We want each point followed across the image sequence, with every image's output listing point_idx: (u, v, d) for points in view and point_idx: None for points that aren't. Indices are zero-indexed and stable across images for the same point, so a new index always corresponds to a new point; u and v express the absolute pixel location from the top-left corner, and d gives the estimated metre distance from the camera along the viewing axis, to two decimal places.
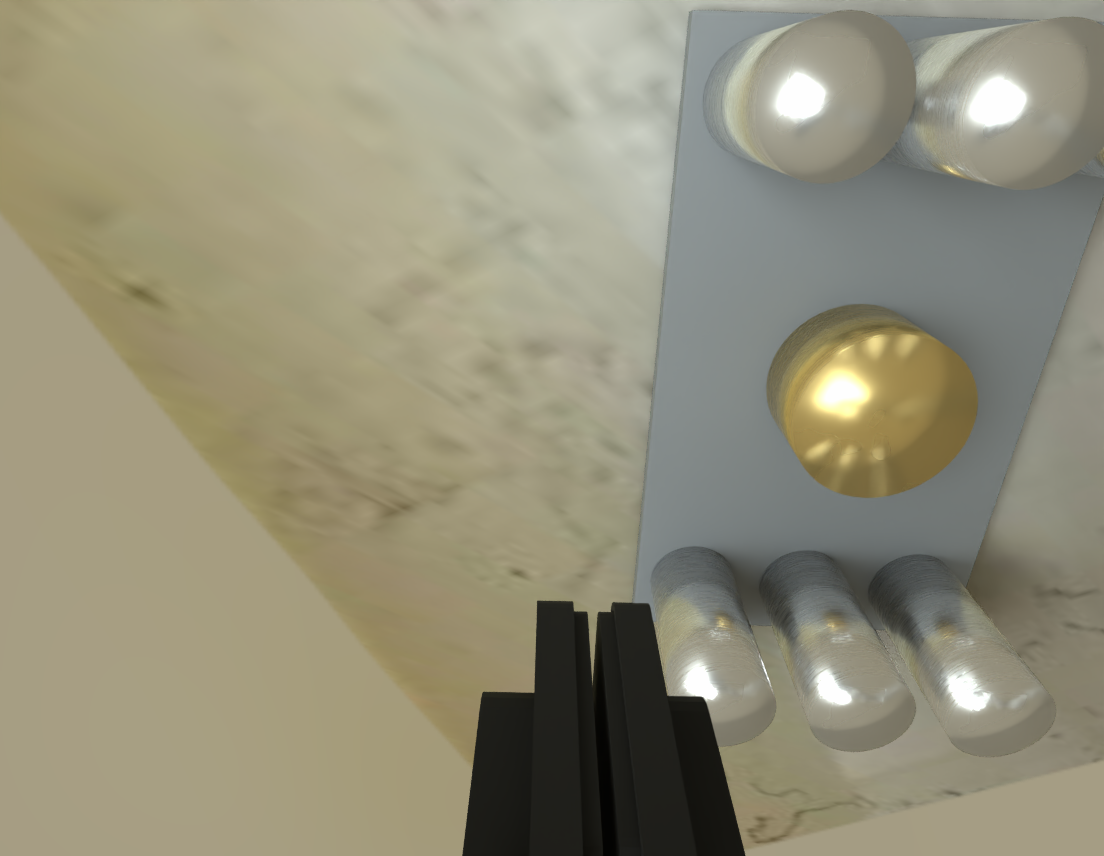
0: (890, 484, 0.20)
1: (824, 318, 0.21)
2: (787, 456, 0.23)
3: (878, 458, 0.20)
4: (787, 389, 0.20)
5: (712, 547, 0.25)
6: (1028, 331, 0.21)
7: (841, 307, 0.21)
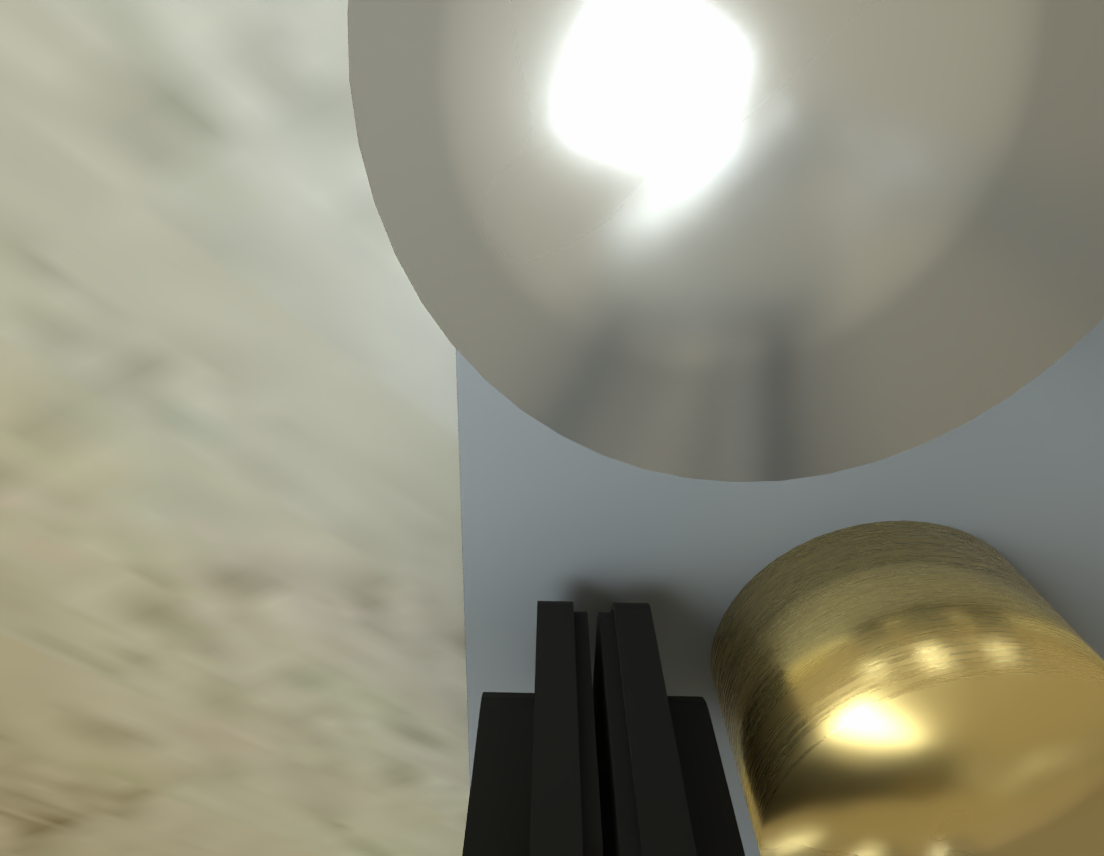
0: None
1: (825, 559, 0.10)
2: (730, 768, 0.12)
3: None
4: (748, 728, 0.09)
5: None
6: None
7: (860, 526, 0.10)
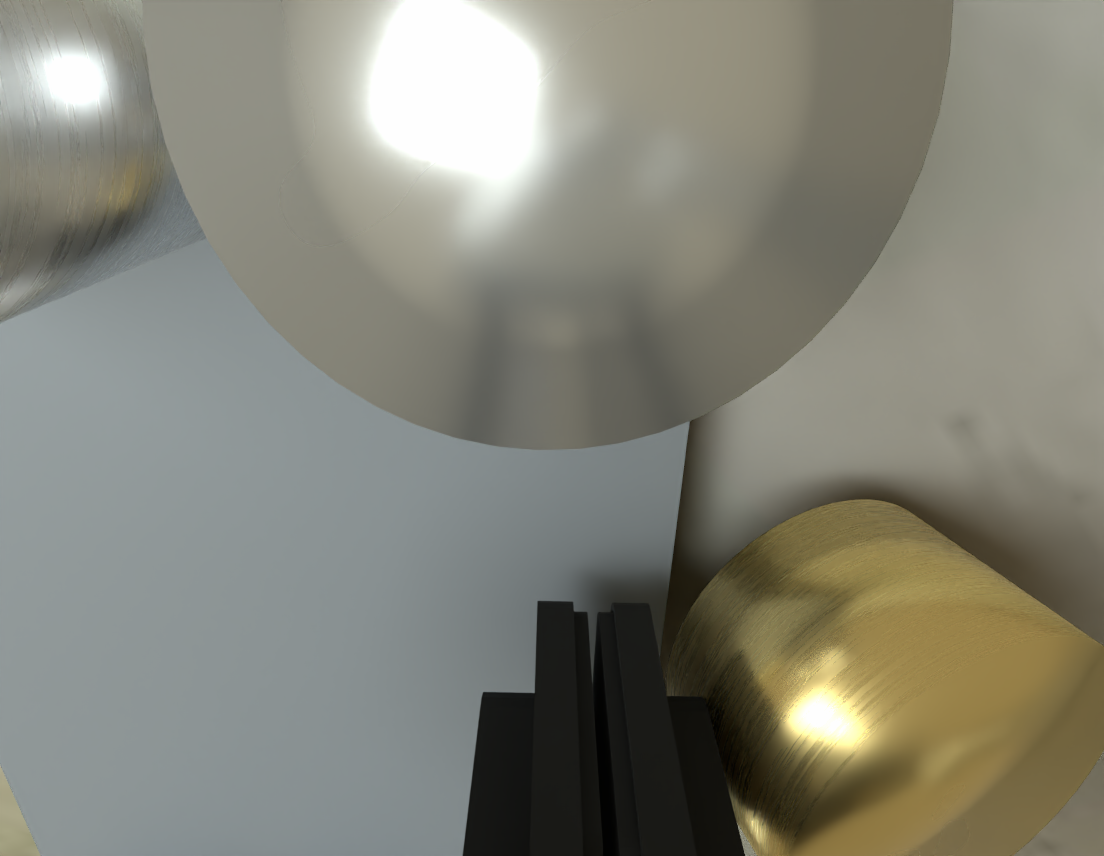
0: None
1: (771, 564, 0.09)
2: (241, 741, 0.13)
3: (946, 855, 0.09)
4: (741, 765, 0.09)
5: None
6: (620, 543, 0.11)
7: (791, 520, 0.10)
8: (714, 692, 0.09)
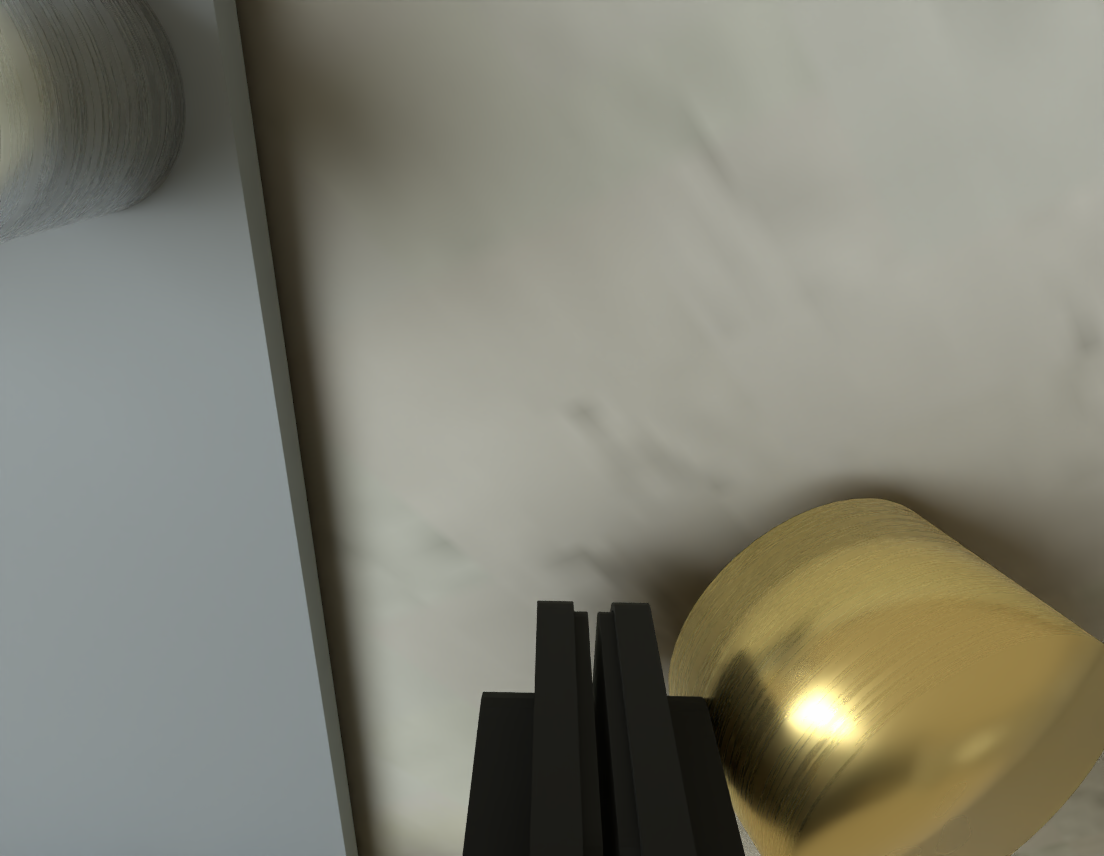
0: None
1: (776, 562, 0.09)
2: None
3: (948, 852, 0.09)
4: (744, 762, 0.09)
5: None
6: (243, 532, 0.11)
7: (794, 519, 0.10)
8: (717, 690, 0.09)
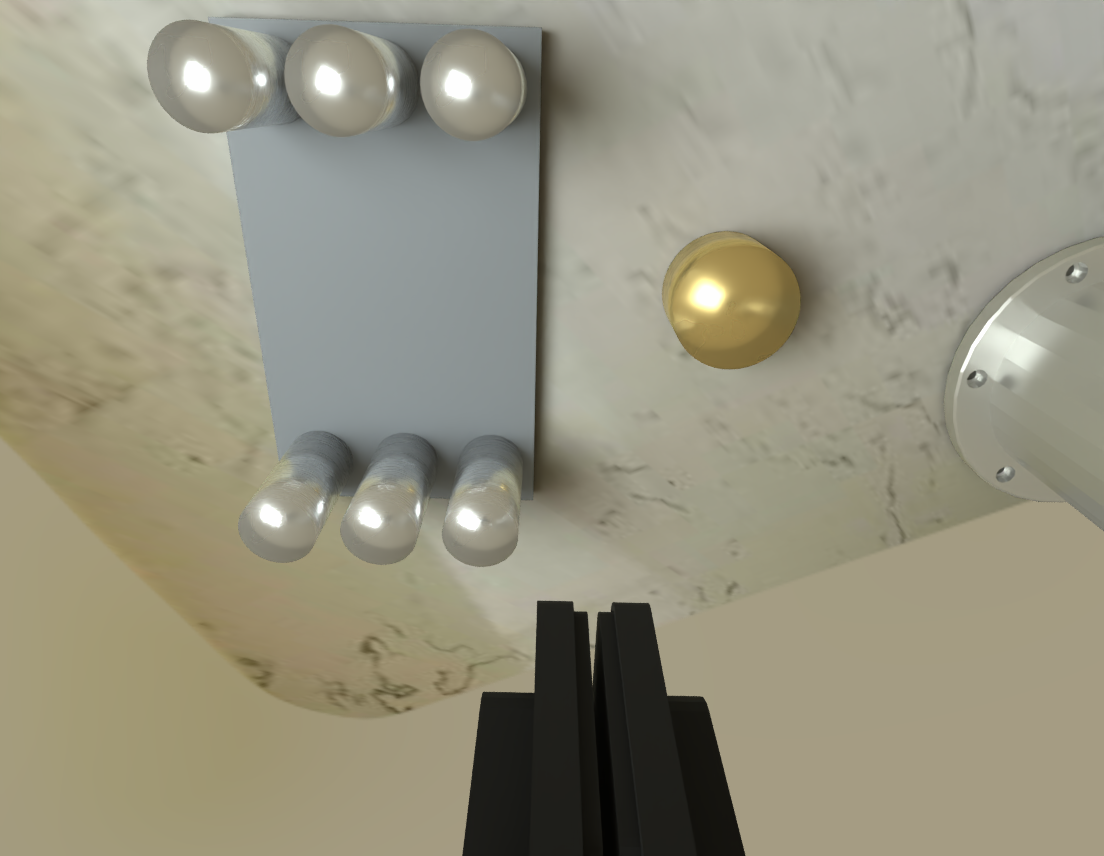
0: (748, 357, 0.29)
1: (695, 243, 0.29)
2: (367, 355, 0.31)
3: (736, 338, 0.28)
4: (670, 294, 0.29)
5: (330, 431, 0.32)
6: (517, 254, 0.29)
7: (708, 235, 0.29)
8: (669, 280, 0.29)
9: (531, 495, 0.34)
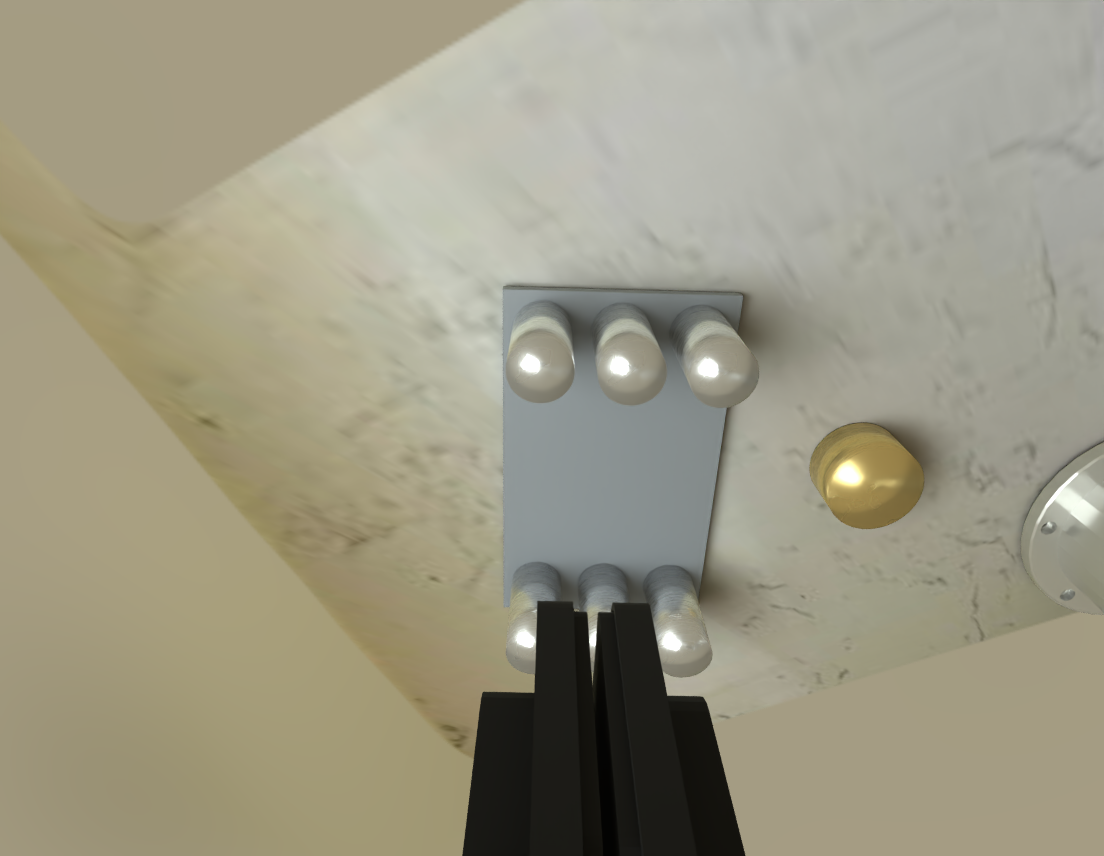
0: (882, 521, 0.38)
1: (840, 433, 0.39)
2: (583, 509, 0.41)
3: (874, 508, 0.38)
4: (823, 474, 0.38)
5: (546, 562, 0.42)
6: (706, 441, 0.39)
7: (848, 425, 0.39)
8: (820, 460, 0.39)
9: None
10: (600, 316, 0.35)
